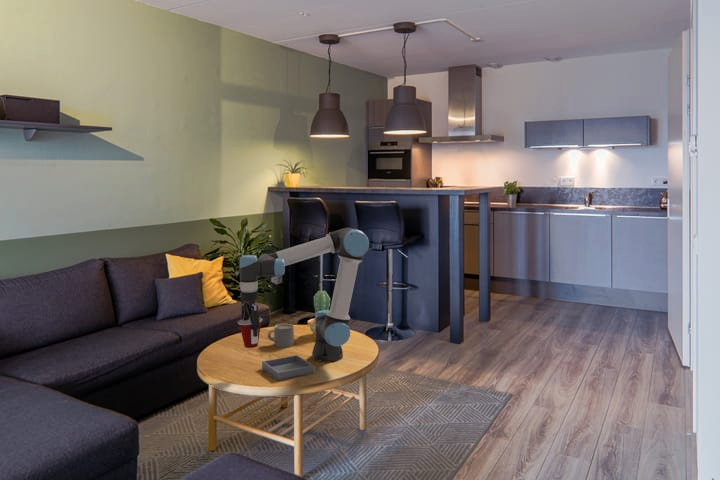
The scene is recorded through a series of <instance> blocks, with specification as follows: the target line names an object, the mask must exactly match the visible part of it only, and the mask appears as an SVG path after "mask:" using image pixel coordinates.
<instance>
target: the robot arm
mask: <svg viewBox="0 0 720 480" xmlns="http://www.w3.org/2000/svg"><path fill="white" fill-rule="evenodd" d="M369 245H370V240H369V238H368V236H367V234H365V233H364V232H363V231H362V230H359V229H355V228H352V227H345V228H340V229H338V230H335V231H332V232H330V233H326V235H325V236H323V237H321V238H317V239H314V240H311V241H308V242H304V243H302V244H297V245H294V246H291V247H288V248H285V249H282V250H278V251H276V252H272V253H264V254H262V255H260V256H259V258H258V256H257V255H254V254H249V255H248V254H246V255H242V256H240V257H239V266H238V267H239V281H240V282H239V287H240V293H239V294H240V301H241V305H240V306H241V308H240V309H241V312H240V320H242V319H243V320H244V321H246V320H249V318H250V321H251V323H252V328H251V344H256V343H258V344H259V340H258V328H260V329H261V327H260V324H259V318H260V317H259V306H258V305H256V302H255V301H256V300H258V299H259V292H258V289H259V287H258V286H259V283H258V282H259V281H258V277H259V278H260V277H262V278H263V277H279V276H283V275H285V273H286V272H285V271H286V266H290V265H293V264H296V263H299V262H302V261H305V260H309V259H311V258H315V257H318V256H321V255H324V254H327V253H332V254H336V253H337V256H338V258H339V264H338V271H337V274H336V280H335V284H334V288H333V294H332V299H331V302H330V307H329V309H328V310H322V311H318V312H316V317H315V316H314V319H316V337H315V342H314V345H313V350H312V351H311V358H312V359H313V360H314V361H318V362H326V363H327V362H336V361H340V360H341V359H343V358H344V351H343V348H342V346H344V345H345V344H347V342H349V339H350V337H351V328H350V323H351V317H350V315H349V312H350V306H351V301H352V297H353V292H354V287H355V283H356V278H357V275H358V274H357V272H358V267H359V264H360V263H362V262H363V260H364V255H365V254H366V253H367V252H368V250H369V249H370V248H369V247H370V246H369ZM342 357H343V358H342ZM339 359H340V360H339Z"/></svg>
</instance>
